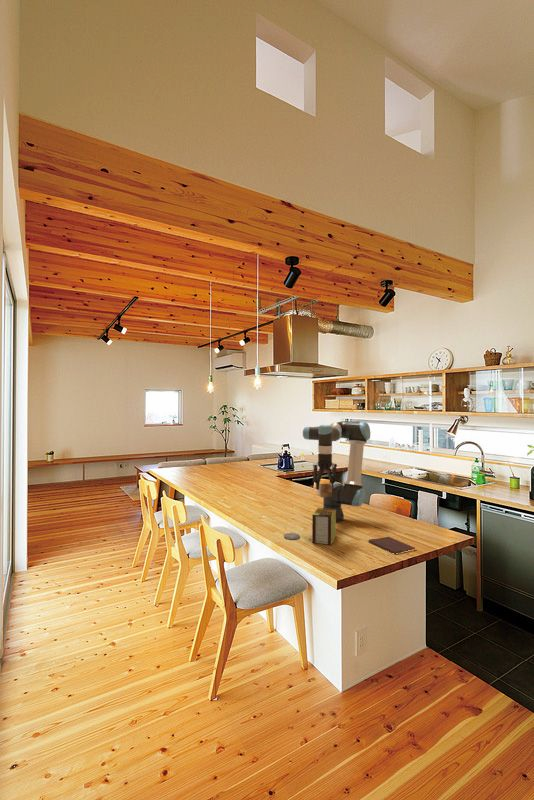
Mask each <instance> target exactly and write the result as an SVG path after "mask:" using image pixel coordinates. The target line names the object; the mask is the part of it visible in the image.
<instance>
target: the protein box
mask: <svg viewBox="0 0 534 800" xmlns="http://www.w3.org/2000/svg"><path fill="white" fill-rule="evenodd" d="M311 523H312V525H311V526H312V529H311V530H312V533H311V535H312V536H311V537H312V538H311V542H312V544H318V545H325V546H326V545H328V546H332V544H333V542H334V540H335V538H336V534H337V533H336V532H337V529H336V527H337V522H336V509H327V508H323V507H317V509H316V510H315V511H314V512H313V513H312V522H311Z"/></svg>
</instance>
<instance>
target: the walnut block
mask: <svg viewBox="0 0 534 800" xmlns="http://www.w3.org/2000/svg"><path fill="white" fill-rule="evenodd" d="M320 484H321V496H319V497H320V498H323V497H332V485H329V484H327V483H320Z"/></svg>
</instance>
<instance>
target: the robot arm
mask: <svg viewBox="0 0 534 800" xmlns="http://www.w3.org/2000/svg"><path fill="white" fill-rule="evenodd" d="M302 437H303V439H304V440H309V441H310V440H311V441H318V445H317V447H318V448H317V449H318V454H317V463H313V464H312V467H313V473H312V482H313V483H315V489H316V490H317V492H316V493H317V494H316V495H317V496H319V497H320V496H321V484H322V483H321V478H322V476H323V473H324V471H326V473H327V477H328V480H329V482H327V483H326V484H329V485H332V497H322V498H323V502H322V503H323V505H322V508H327V509H336V523H337V522H342V521H344V520H345V515H344V511H343V508H342V505H346V506H351V507H358V508H359V507H361V506H363V504H364V502H365V499H366V489H365V488H364V487H363V484H362V482H361V481H362V470H363V459H364V448H365V446H366V444H367V441H369V440H370V439H371V427H370V425H369V423H368V422H367V421H359V420H358V421H357V420H356V421H354V420H353V421H352V420H351V421H350V420H342V421H338V422H332V423H330V424H323V425H322V424H321V425H319V426H305V427H304V428H303V429H302ZM340 439H347V440H348V443H349V444H350V445H349V455H348V464H347V465H348V466H347V474H346V475H347V477H346V481H345V482H344V483H341V482H337V466H338V464H337V463H333V454H332V453H333V442H338V441H339V440H340Z"/></svg>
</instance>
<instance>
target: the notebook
mask: <svg viewBox="0 0 534 800" xmlns="http://www.w3.org/2000/svg"><path fill="white" fill-rule="evenodd" d="M368 543H369V544H371V545H374V546H376V547H378V548H380V549H382V550H384V551H386V550H387V551H386V552H388V551H389V552H388V553H390V552H391V553H390V554H392V553H394V554H395V555H397V554H396V553H401V552H404V551H408V550H412V549H415V548H416V547H414V546H412V545H409V544H407V543H405V542H402V541H400V540H397V539H395V538H393V537H391V536H385V537H379V538H371V539H368ZM394 554H393V555H394ZM401 554H402V553H401Z"/></svg>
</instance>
